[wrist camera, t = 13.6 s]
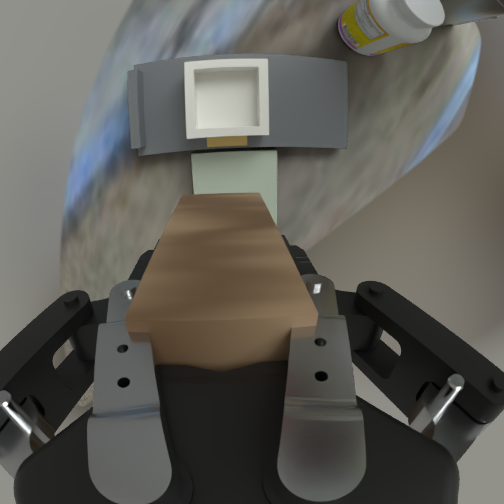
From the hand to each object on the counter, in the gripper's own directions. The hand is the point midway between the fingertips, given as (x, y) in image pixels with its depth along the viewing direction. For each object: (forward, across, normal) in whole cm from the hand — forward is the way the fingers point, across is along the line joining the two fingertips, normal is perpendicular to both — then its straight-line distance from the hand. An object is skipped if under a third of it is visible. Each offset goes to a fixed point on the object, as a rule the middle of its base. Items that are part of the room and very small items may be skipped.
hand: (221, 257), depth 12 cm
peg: (+3, 0, 0) cm, 3 cm away
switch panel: (+20, -2, -8) cm, 21 cm away
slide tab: (+18, 0, -8) cm, 19 cm away
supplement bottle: (+20, -16, -19) cm, 31 cm away
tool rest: (+20, -1, +2) cm, 20 cm away
